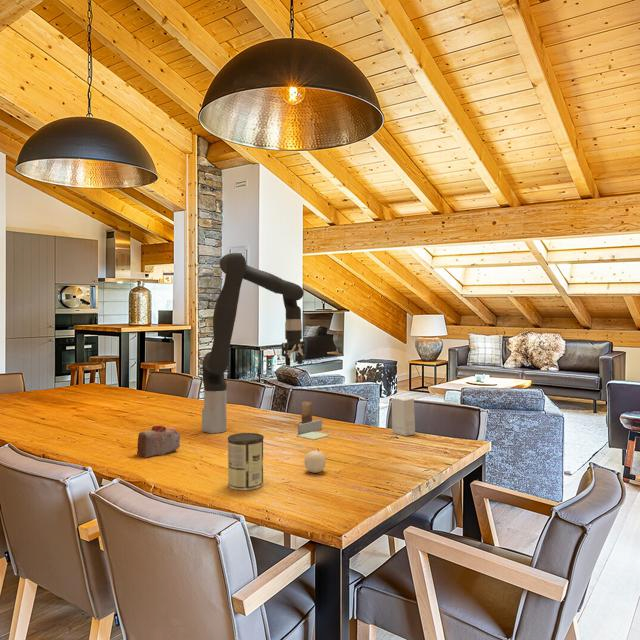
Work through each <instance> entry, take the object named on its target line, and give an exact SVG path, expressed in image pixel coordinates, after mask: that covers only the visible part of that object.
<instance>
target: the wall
mask: <svg viewBox="0 0 640 640" xmlns="http://www.w3.org/2000/svg"><path fill="white" fill-rule="evenodd" d="M320 429H321V430H323V419H317V420H312V422H308V423H303V424H302V423H300V424H297V435H301V434H305V433H309V432H313V431H314V432H318V431H321V430H320ZM317 430H318V431H317Z"/></svg>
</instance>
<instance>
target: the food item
mask: <svg viewBox="0 0 640 640" xmlns="http://www.w3.org/2000/svg"><path fill="white" fill-rule="evenodd" d="M180 440H181V434H180V432H178V431H177V429H176V428H174V427H172V426H171V427H165V426H163V425H154V426H152V427H151V430H150V429H149V430H145V431H140V432H139V433H138V438H137V451H136V454H137V455H138V456H140V457H142V458H145V459H146V458H149V457H151V458H152V457H154V456H155V457H156V456H163V455H167V454H170V453H173V452H174V453H175V452H176V451H177V450H178V449H179V448H180V447H181V443H180V442H181V441H180Z"/></svg>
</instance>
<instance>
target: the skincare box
mask: <svg viewBox="0 0 640 640" xmlns="http://www.w3.org/2000/svg"><path fill="white" fill-rule="evenodd" d="M415 418H416V417H415V398H412V397H411V398H410V397H404V396H398V397H392V398H391V423H392V424H391V427H392V428H391V429H392V434H397V435H399V436H400V435H401V436H405V437H407V436H414V435H416V422H415V421H416V419H415Z"/></svg>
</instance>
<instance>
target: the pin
mask: <svg viewBox="0 0 640 640" xmlns="http://www.w3.org/2000/svg"><path fill="white" fill-rule="evenodd" d="M312 421H313V401H309V400H305V401H304V400H303V401H301V424H303V423H308V422H312Z"/></svg>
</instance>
